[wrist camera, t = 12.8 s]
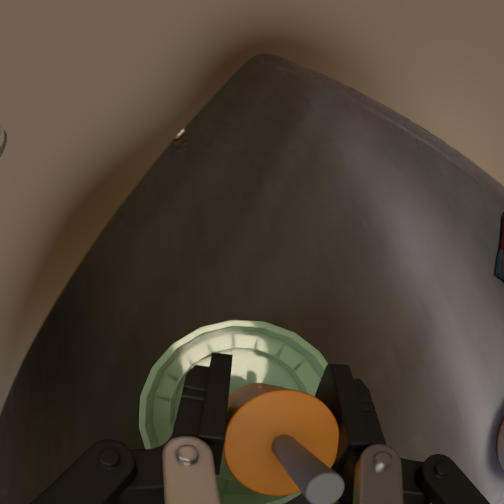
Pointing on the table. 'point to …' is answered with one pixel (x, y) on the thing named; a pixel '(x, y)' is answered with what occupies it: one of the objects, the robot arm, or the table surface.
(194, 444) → the robot arm
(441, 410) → the table surface
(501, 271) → the decorative book
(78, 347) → the table surface
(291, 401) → the screwdriver
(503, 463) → the patterned ceramic vase
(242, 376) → the green round bowl
